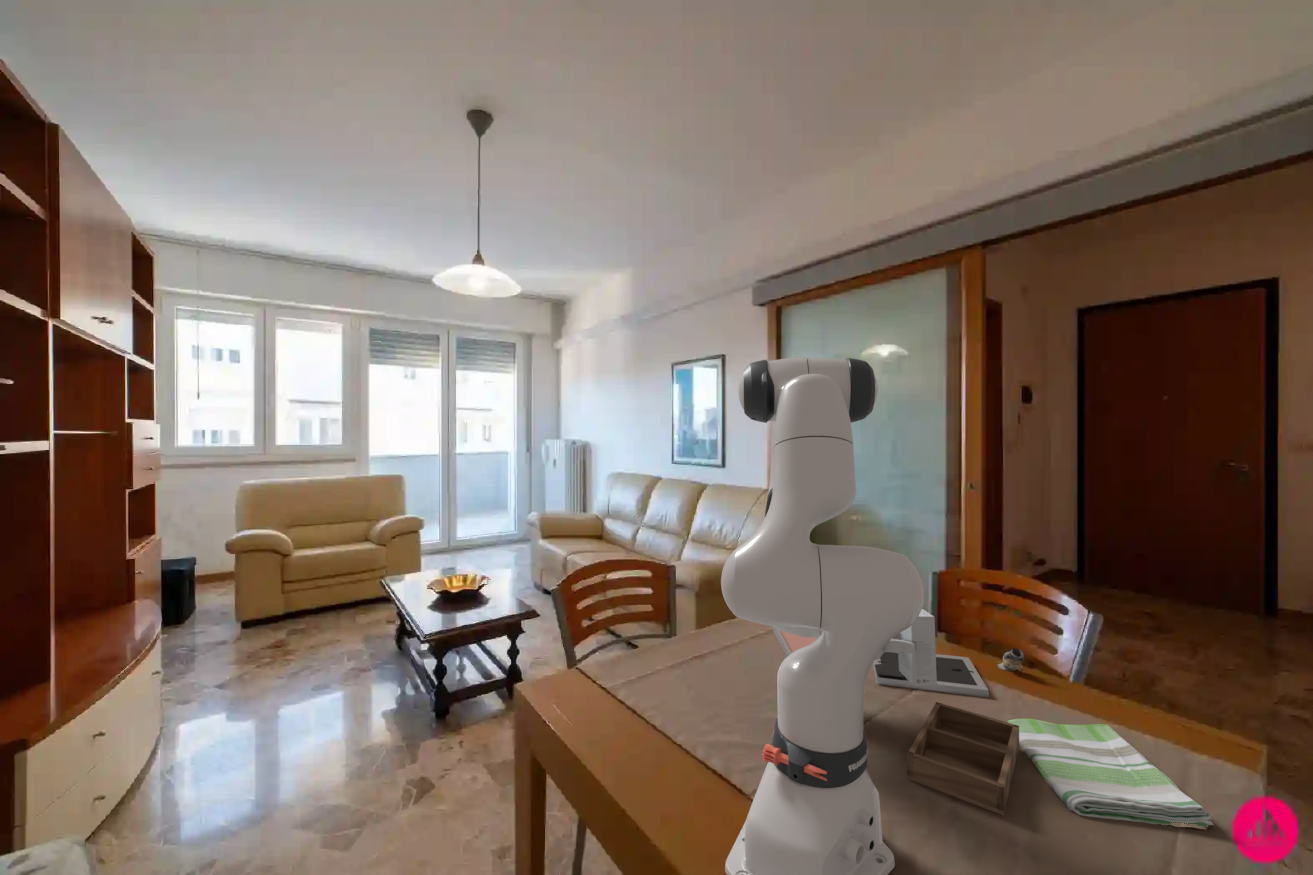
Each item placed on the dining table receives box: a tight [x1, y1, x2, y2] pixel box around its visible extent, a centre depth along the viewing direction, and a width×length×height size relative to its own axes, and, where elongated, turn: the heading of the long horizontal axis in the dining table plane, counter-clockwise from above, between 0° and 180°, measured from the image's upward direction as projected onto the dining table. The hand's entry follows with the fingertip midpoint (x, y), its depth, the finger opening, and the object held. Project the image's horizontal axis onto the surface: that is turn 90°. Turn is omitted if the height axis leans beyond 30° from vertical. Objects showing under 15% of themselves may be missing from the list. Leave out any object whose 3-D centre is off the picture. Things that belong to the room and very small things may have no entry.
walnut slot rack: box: [906, 701, 1020, 816], centre depth 86 cm, size 19×13×4 cm, turn 140°
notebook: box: [770, 626, 817, 658], centre depth 136 cm, size 27×17×2 cm, turn 179°
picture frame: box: [872, 651, 990, 698], centre depth 117 cm, size 16×3×21 cm
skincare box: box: [897, 608, 937, 686], centre depth 94 cm, size 6×4×12 cm
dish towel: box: [1006, 718, 1214, 827], centre depth 84 cm, size 17×23×4 cm
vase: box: [996, 648, 1025, 673], centre depth 116 cm, size 5×5×6 cm
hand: (921, 640), depth 94 cm, fingers closed on skincare box, 7 cm apart
